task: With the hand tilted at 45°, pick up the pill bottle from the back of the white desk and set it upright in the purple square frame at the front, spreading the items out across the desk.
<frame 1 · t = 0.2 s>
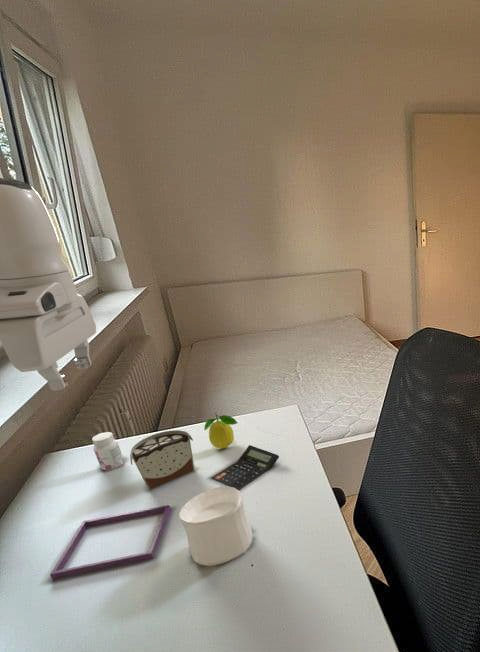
hand: (73, 377, 72), 31 cm above the table, tool pointing down, fingers open, 8 cm apart
lemon: (225, 448, 109), on the table
calculator: (247, 473, 98), on the table
cup: (224, 549, 77), on the table
pill bottle: (114, 468, 104), on the table
food container: (169, 478, 98), on the table
purple square frame: (118, 544, 80), on the table
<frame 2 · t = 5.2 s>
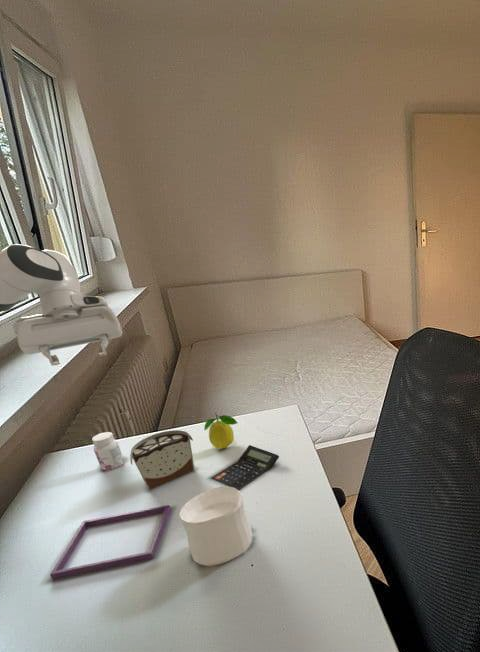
hand: (79, 358, 104), 24 cm above the table, tool tilted 45°, fingers open, 8 cm apart
nothing on the table moved.
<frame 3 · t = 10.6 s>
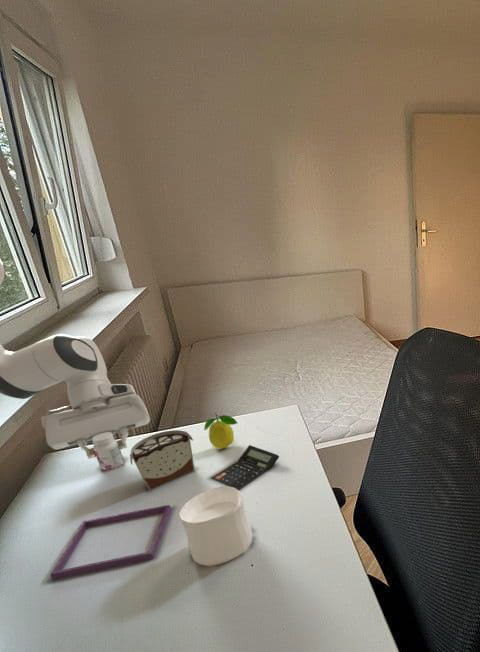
hand: (108, 452, 101), 4 cm above the table, tool tilted 45°, fingers closed on pill bottle, 5 cm apart
pill bottle: (114, 467, 104), on the table, touching gripper
everything else where it was.
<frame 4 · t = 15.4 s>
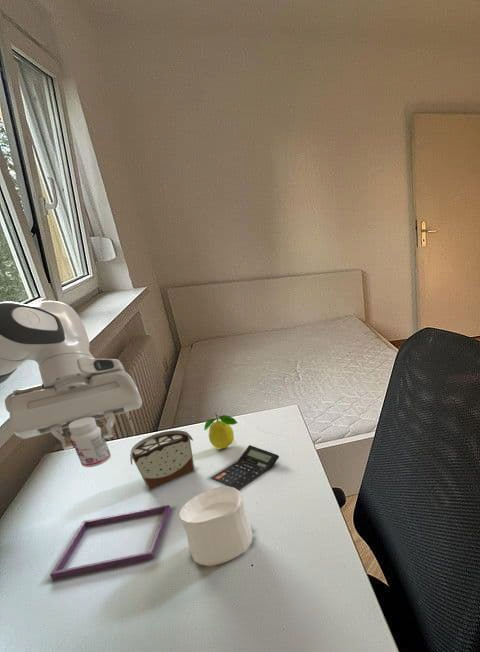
hand: (89, 442, 82), 16 cm above the table, tool tilted 45°, fingers closed on pill bottle, 5 cm apart
pill bottle: (97, 461, 84), point 12 cm above the table, touching gripper
everything else where it was.
when the fingers open (5 cm above the table, at t = 20.4 s): pill bottle stays where it is, resting on purple square frame.
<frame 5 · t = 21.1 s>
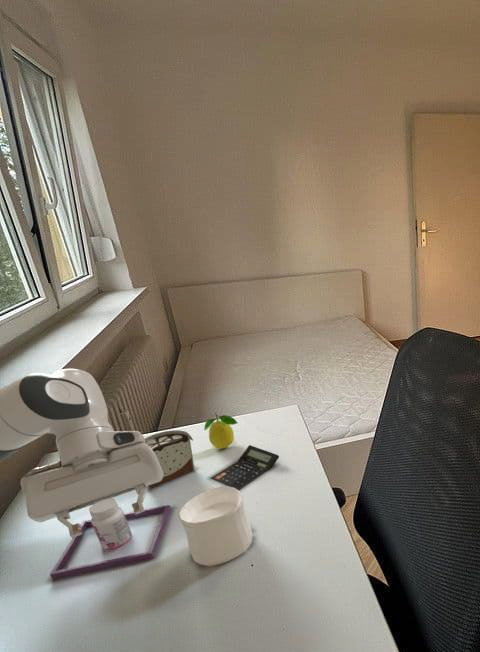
hand: (109, 523, 77), 5 cm above the table, tool tilted 45°, fingers open, 8 cm apart
pill bottle: (118, 543, 79), resting on purple square frame
everything else where it was.
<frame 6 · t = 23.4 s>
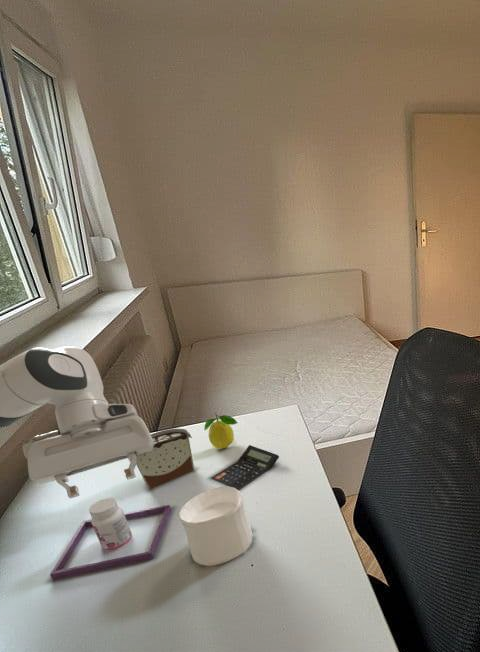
hand: (103, 487, 84), 7 cm above the table, tool tilted 45°, fingers open, 8 cm apart
food container: (168, 477, 98), on the table, touching gripper
everything else where it was.
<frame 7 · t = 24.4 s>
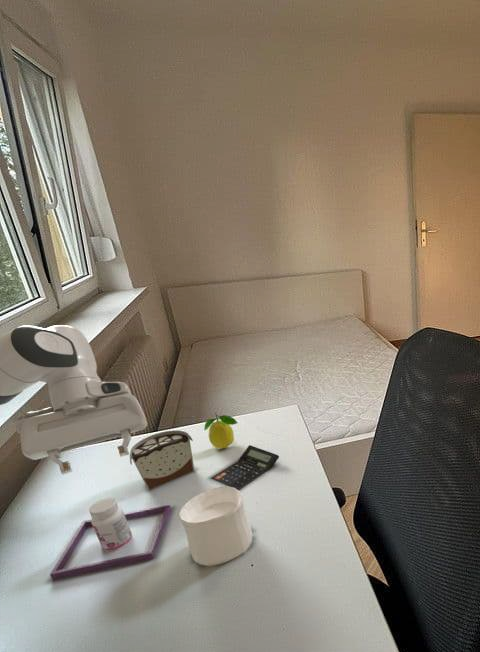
hand: (96, 463, 85), 11 cm above the table, tool tilted 45°, fingers open, 8 cm apart
food container: (169, 478, 98), on the table
everything else where it was.
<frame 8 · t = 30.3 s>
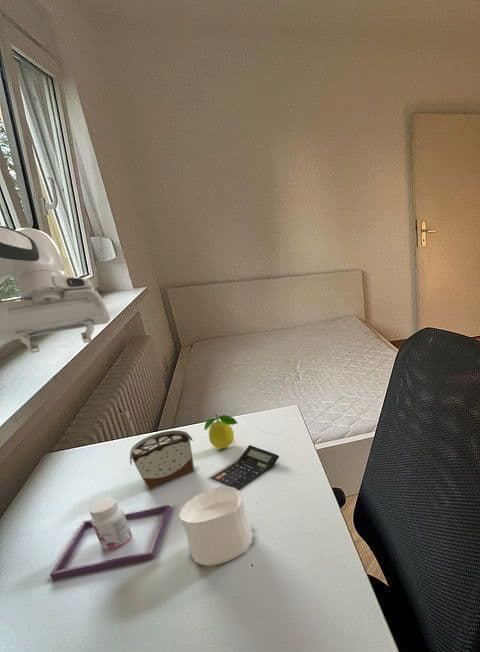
hand: (61, 346, 95), 29 cm above the table, tool tilted 45°, fingers open, 8 cm apart
nothing on the table moved.
at the end: pill bottle inside the target area in the purple square frame (0.0 cm from its centre), point 0.3 cm above the purple square frame's base; pill bottle tilted 0°; pill bottle moved 30.7 cm from its start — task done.
